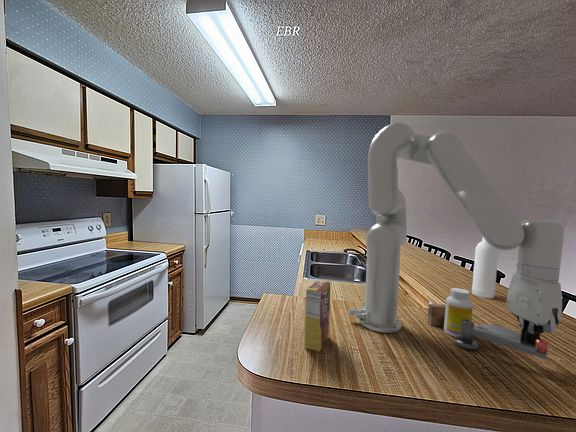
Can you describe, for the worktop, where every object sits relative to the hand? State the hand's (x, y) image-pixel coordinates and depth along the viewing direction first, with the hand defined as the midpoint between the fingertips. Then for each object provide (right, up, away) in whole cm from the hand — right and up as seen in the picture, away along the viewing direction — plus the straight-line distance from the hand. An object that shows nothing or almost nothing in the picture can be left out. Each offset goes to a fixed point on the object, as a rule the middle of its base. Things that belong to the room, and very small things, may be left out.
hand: (529, 347), depth 67 cm
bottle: (+24, -2, +50) cm, 56 cm away
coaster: (+4, -3, +15) cm, 16 cm away
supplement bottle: (-9, -3, +14) cm, 17 cm away
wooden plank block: (-8, -2, +20) cm, 22 cm away
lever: (-6, -3, +2) cm, 7 cm away
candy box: (-51, -2, +6) cm, 51 cm away
